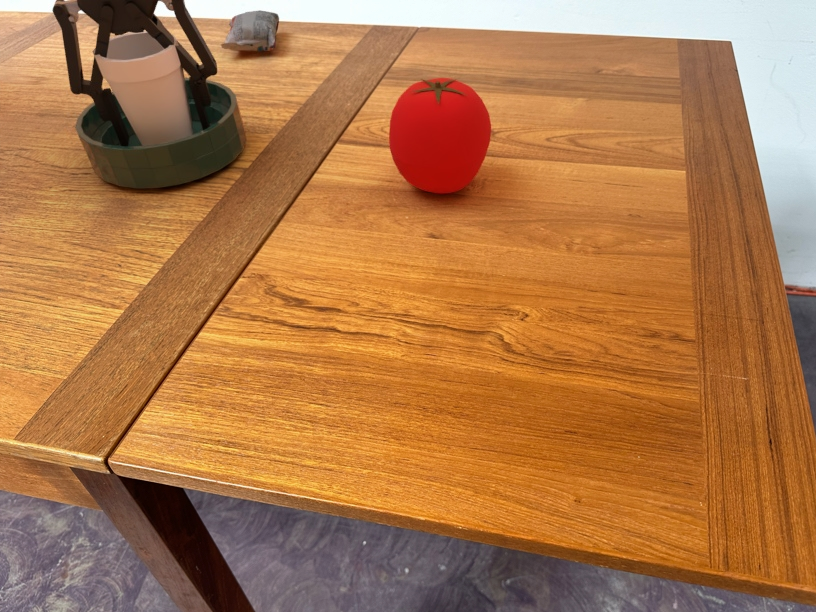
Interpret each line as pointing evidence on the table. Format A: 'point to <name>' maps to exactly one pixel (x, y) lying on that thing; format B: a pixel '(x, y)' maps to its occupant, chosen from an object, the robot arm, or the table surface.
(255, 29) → the packaged food
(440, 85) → the tomato
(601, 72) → the table surface
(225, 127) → the bowl
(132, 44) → the foam cup
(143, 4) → the robot arm
